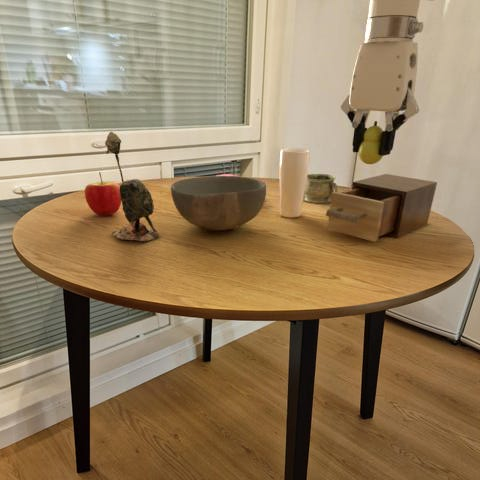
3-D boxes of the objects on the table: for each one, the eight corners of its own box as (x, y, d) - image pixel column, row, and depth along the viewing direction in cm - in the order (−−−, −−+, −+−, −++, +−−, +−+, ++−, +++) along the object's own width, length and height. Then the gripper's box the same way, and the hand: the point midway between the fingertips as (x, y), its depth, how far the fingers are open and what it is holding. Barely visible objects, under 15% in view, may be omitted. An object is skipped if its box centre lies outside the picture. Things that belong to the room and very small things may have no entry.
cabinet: (397, 237, 90) (406, 191, 85) (346, 224, 98) (352, 181, 93) (427, 224, 99) (437, 182, 94) (378, 213, 107) (385, 173, 102)
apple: (86, 220, 97) (78, 174, 93) (90, 210, 105) (83, 168, 100) (123, 218, 99) (117, 174, 94) (124, 209, 106) (119, 167, 101)
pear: (386, 164, 78) (394, 121, 75) (374, 167, 75) (381, 122, 72) (364, 161, 81) (370, 119, 78) (351, 163, 78) (357, 120, 75)
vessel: (344, 201, 117) (347, 177, 114) (326, 206, 112) (329, 182, 109) (309, 193, 124) (311, 171, 121) (290, 198, 119) (292, 175, 116)
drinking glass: (308, 214, 105) (314, 149, 98) (297, 220, 100) (303, 153, 92) (283, 210, 108) (288, 147, 101) (271, 216, 103) (275, 150, 95)
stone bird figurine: (132, 249, 81) (120, 136, 71) (107, 234, 89) (93, 130, 79) (169, 241, 86) (162, 134, 76) (142, 227, 93) (133, 128, 83)
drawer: (361, 247, 82) (368, 207, 78) (313, 233, 89) (317, 196, 85) (406, 228, 93) (413, 192, 89) (360, 217, 100) (365, 183, 96)
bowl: (262, 216, 103) (263, 173, 98) (266, 244, 85) (269, 193, 80) (179, 214, 103) (177, 171, 98) (166, 242, 85) (163, 191, 80)
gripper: (451, 31, 66) (425, 156, 75) (355, 37, 76) (342, 146, 85) (431, 27, 61) (405, 161, 70) (332, 34, 71) (320, 150, 80)
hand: (371, 152), depth 77 cm, fingers closed on pear, 4 cm apart
